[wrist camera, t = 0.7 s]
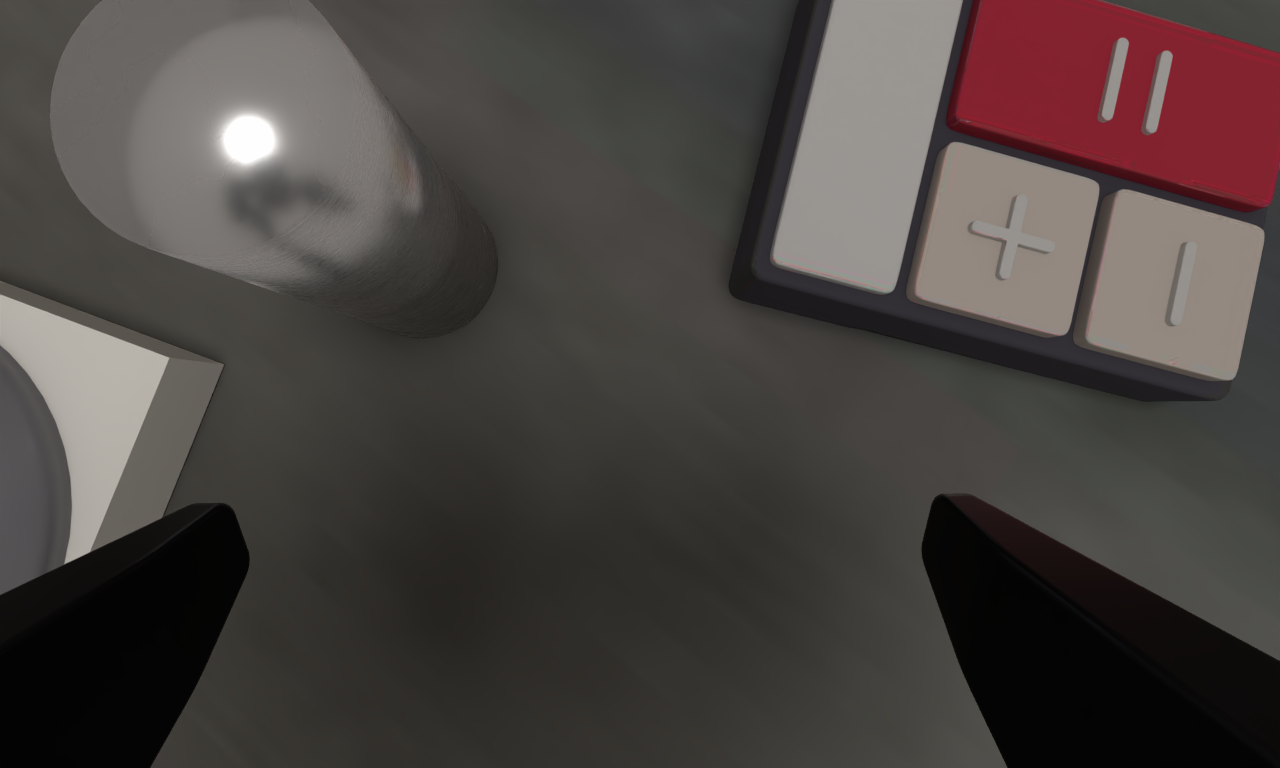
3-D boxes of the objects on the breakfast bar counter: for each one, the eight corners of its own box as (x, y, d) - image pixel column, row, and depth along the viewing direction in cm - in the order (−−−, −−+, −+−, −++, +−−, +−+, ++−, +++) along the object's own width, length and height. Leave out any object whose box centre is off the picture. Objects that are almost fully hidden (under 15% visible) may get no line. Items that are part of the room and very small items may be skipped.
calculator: (1256, 404, 18) (753, 270, 17) (1131, 404, 22) (724, 297, 22) (1330, 42, 19) (845, -102, 18) (1194, 110, 23) (798, -4, 22)
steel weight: (466, 358, 21) (286, 300, 10) (327, 307, 21) (2, 193, 10) (519, 221, 22) (398, 21, 11) (381, 170, 22) (120, -81, 11)
